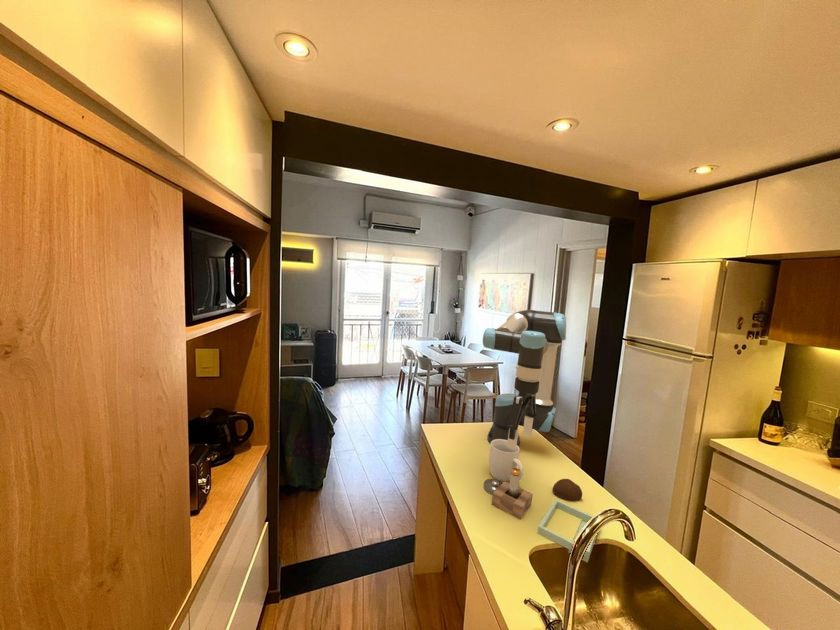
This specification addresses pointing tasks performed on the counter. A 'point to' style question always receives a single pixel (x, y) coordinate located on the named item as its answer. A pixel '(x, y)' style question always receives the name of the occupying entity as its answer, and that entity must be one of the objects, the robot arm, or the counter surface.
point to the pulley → (491, 485)
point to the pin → (514, 482)
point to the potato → (567, 490)
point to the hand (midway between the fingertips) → (519, 441)
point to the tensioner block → (512, 500)
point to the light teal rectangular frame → (559, 538)
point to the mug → (503, 460)
